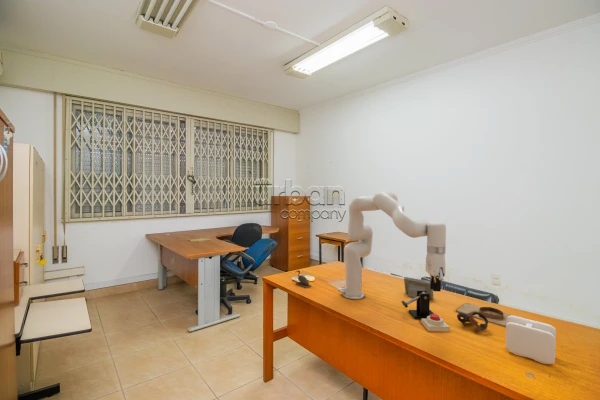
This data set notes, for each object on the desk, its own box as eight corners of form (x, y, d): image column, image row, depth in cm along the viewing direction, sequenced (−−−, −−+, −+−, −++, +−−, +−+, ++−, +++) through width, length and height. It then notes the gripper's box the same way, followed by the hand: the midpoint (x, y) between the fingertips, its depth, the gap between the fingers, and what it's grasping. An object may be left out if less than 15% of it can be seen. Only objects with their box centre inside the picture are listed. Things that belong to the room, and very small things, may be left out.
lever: (406, 309, 137) (404, 304, 137) (402, 304, 142) (400, 300, 142) (428, 298, 137) (426, 294, 137) (424, 294, 142) (422, 290, 142)
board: (523, 319, 135) (523, 313, 135) (515, 330, 125) (516, 322, 125) (466, 304, 154) (466, 298, 154) (455, 312, 144) (455, 305, 144)
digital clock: (435, 298, 162) (435, 280, 162) (427, 302, 156) (427, 283, 156) (408, 291, 174) (409, 274, 174) (401, 294, 169) (401, 276, 168)
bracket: (414, 319, 136) (415, 294, 136) (408, 311, 144) (409, 289, 144) (437, 319, 136) (438, 295, 135) (430, 312, 144) (430, 289, 143)
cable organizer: (502, 351, 109) (503, 321, 108) (507, 340, 116) (507, 313, 116) (554, 368, 98) (555, 335, 98) (556, 355, 106) (557, 325, 105)
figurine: (292, 282, 190) (292, 269, 190) (297, 281, 193) (297, 268, 192) (305, 288, 179) (305, 274, 179) (310, 286, 182) (311, 273, 182)
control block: (428, 331, 124) (428, 322, 124) (421, 322, 132) (421, 314, 132) (449, 331, 124) (449, 322, 124) (440, 323, 132) (440, 314, 132)
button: (432, 321, 126) (432, 317, 126) (429, 317, 129) (429, 313, 129) (440, 321, 126) (440, 317, 126) (437, 317, 129) (437, 313, 129)
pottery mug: (478, 323, 132) (487, 312, 128) (483, 341, 124) (493, 330, 120) (452, 315, 134) (459, 303, 130) (455, 332, 126) (463, 320, 122)
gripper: (420, 246, 135) (420, 284, 135) (435, 253, 119) (435, 296, 119) (436, 246, 135) (435, 284, 135) (453, 253, 119) (452, 296, 119)
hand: (435, 289), depth 127 cm, fingers closed
